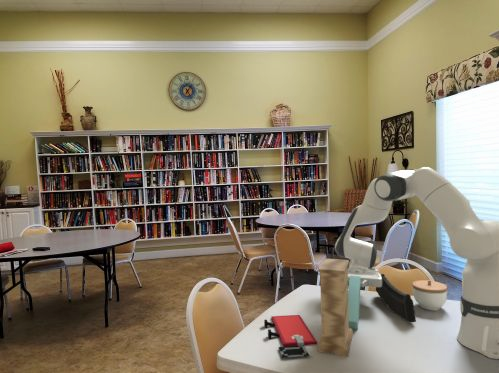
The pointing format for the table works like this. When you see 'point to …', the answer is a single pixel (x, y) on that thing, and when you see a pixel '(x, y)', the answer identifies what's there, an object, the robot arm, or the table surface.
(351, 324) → the rod
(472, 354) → the table surface
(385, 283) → the magazine
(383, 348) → the table surface
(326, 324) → the pedestal
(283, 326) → the red board with handle
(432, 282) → the lidded bowl
